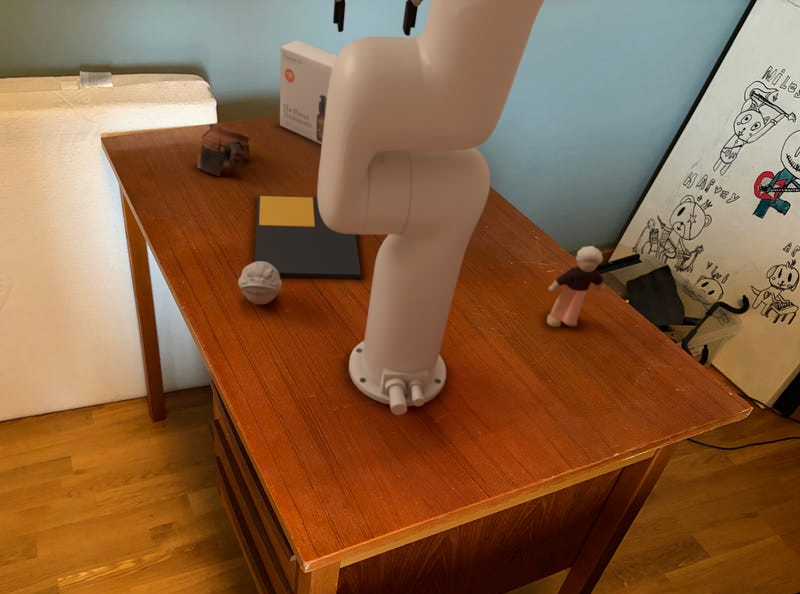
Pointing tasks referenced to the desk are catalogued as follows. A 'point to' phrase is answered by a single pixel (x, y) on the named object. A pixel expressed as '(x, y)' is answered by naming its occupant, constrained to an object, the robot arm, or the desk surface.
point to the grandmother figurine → (575, 287)
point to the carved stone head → (260, 282)
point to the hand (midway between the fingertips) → (373, 30)
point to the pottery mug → (231, 155)
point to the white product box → (304, 88)
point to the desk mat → (302, 240)
